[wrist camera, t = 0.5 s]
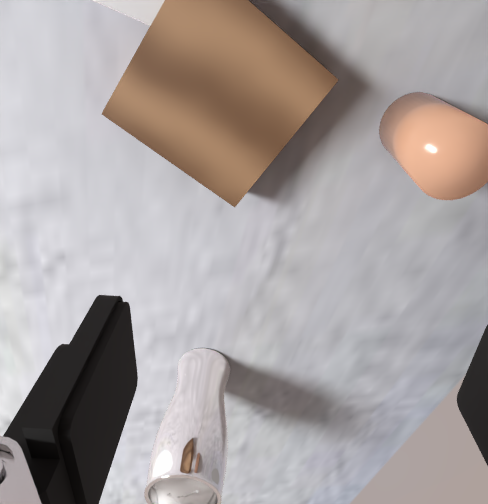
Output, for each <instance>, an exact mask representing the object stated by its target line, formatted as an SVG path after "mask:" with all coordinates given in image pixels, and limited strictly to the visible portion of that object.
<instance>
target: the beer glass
mask: <svg viewBox="0 0 488 504" xmlns="http://www.w3.org/2000/svg"><path fill="white" fill-rule="evenodd" d="M229 375H230V365H229V362H228V360H227V359H226V358H225V357H224V356H223V355H222V354H220V353H219V352H217V351H214V350H211V349H206V348H198V349H193V350H190V351H188V352H186V353H184V354H183V355H182V356H181V358H180V359H179V361H178V366H177V385H176V389H175V393H174V395H173V397H172V400H171V402H170V404H169V406H168V408H167V410H166V412H165V415H164V417H163V419H162V421H161V424H160V427H159V429H158V432H157V435H156V438H155V442H154V445H153V449H152V454H151V459H150V464H149V470H148V477H147V483H146V488H145V492H144V496H145V499H146V501H147V503H148V504H221V497H222V490H223V485H224V479H225V472H226V464H227V453H228V434H227V422H226V413H225V403H224V393H225V387H226V384H227V381H228V378H229Z"/></svg>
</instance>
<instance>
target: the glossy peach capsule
mask: <svg viewBox="0 0 488 504" xmlns="http://www.w3.org/2000/svg"><path fill="white" fill-rule="evenodd" d="M379 134H380V139H381V142H382V144H383V146H384V147H385V149H386V150H387V151H388V152H389V153H390V154H391V155H392V157H393V158H394V159H395V160H396V161H397V162H398V163H399V165H400V166H401V167H402V168H403V169H404V170H405V171H406V173H407V174H408V175H409V176H410V177H411V178H412V179H413V181H414V182H415V183H416V184H417V185H418V186H419V187H420V189H421V190H422V191H423V192H425V193H426V194H427V195H429V196H431V197H433V198H436V199H440V200H455V199H459V198H463V197H466V196H468V195H470V194H472V193H474V192H476V191H477V190H479V189H480V188H481V187H483V186H484V185H485V184H486V183H487V182H488V124H486V123H485V122H483V121H481V120H479V119H477V118H475V117H473V116H471V115H469V114H467V113H465V112H463V111H462V110H460V109H458V108H456V107H454V106H452V105H450V104H448V103H446V102H444V101H442V100H440V99H438V98H436V97H434V96H432V95H430V94H428V93H423V92H415V93H410V94H407V95H404V96H402V97H400V98H398V99H397V100H396V101H394V102H393V103H392V104H391V105H390V106H389V107H388V109H387V110H386V111H385V113H384V115H383V117H382V119H381V123H380V129H379Z"/></svg>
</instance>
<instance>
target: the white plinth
mask: <svg viewBox="0 0 488 504" xmlns="http://www.w3.org/2000/svg"><path fill="white" fill-rule="evenodd" d="M93 1H95V2H97V3H99V4H102V5H104V6H106V7H108V8H111V9H113V10H115V11H117V12H120V13H122V14H124V15H126V16H129V17H131V18H133V19H136V20H138V21H140V22H142V23H145V24H147V25H149V26H151V24H152V22H153V20H154V19H155V17H156V15H157V13H158V12H159V10H160V8H161V6H162V4H163V3H164V1H165V0H93Z"/></svg>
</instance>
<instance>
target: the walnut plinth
mask: <svg viewBox="0 0 488 504" xmlns="http://www.w3.org/2000/svg"><path fill="white" fill-rule="evenodd" d="M337 81H338V79H337V78H336V77H335V76H334V75H333V74H332V73H331V72H330V71H328V70H327V69H326V68H325V67H324V66H323V65H322V64H320V63H319V62H318V61H317V60H316V59H315V58H314V57H312V56H311V55H310V54H309V53H308V52H307V51H306V50H305V49H303V48H302V47H301V46H300V45H299V44H298V43H297V42H295V41H294V40H293V39H292V38H291V37H290V36H289V35H287V34H286V33H285V32H284V31H283V30H282V29H281V28H280V27H278V26H277V25H276V24H275V23H274V22H273V21H272V20H270V19H269V18H268V17H267V16H266V15H265V14H264V13H262V12H261V11H260V10H259V9H258V8H257V7H256V6H255V5H253V4H252V3H251V2H250V1H249V0H165V1H164V3H163V4H162V6H161V8H160V10H159V12H158V13H157V15H156V17H155V19H154V20H153V22H152V24H151V26H150V28H149V29H148V31H147V33H146V35H145V37H144V38H143V40H142V42H141V44H140V46H139V47H138V49H137V51H136V53H135V55H134V56H133V58H132V60H131V62H130V64H129V65H128V67H127V69H126V71H125V73H124V74H123V76H122V78H121V80H120V82H119V83H118V85H117V87H116V89H115V91H114V92H113V94H112V96H111V98H110V99H109V101H108V103H107V105H106V107H105V108H104V110H103V112H102V115H104V116H105V117H106V118H108V119H109V120H111V121H112V122H114V123H115V124H116V125H118V126H119V127H121V128H122V129H124V130H125V131H126V132H128V133H129V134H131V135H132V136H134V137H135V138H136V139H138V140H139V141H141V142H142V143H144V144H145V145H146V146H148V147H149V148H151V149H152V150H154V151H155V152H156V153H158V154H159V155H161V156H162V157H164V158H165V159H166V160H168V161H169V162H171V163H172V164H174V165H175V166H176V167H178V168H179V169H181V170H182V171H184V172H185V173H186V174H188V175H189V176H191V177H192V178H194V179H195V180H196V181H198V182H199V183H201V184H202V185H204V186H205V187H206V188H208V189H209V190H211V191H212V192H214V193H215V194H216V195H218V196H219V197H221V198H222V199H224V200H225V201H226V202H228V203H229V204H231V205H232V206H234V207H235V206H236V205H237V204H238V203H239V201H240V200H241V199H242V198H243V197H244V195H245V194H246V193H247V192H248V190H249V189H250V188H251V187H252V186H253V184H254V183H255V182H256V181H257V179H258V178H259V177H260V176H261V175H262V173H263V172H264V171H265V170H266V168H267V167H268V166H269V165H270V163H271V162H272V161H273V160H274V159H275V157H276V156H277V155H278V154H279V152H280V151H281V150H282V149H283V148H284V146H285V145H286V144H287V143H288V141H289V140H290V139H291V138H292V137H293V135H294V134H295V133H296V132H297V130H298V129H299V128H300V127H301V125H302V124H303V123H304V122H305V121H306V119H307V118H308V117H309V116H310V114H311V113H312V112H313V111H314V110H315V108H316V107H317V106H318V105H319V103H320V102H321V101H322V100H323V99H324V97H325V96H326V95H327V94H328V92H329V91H330V90H331V89H332V87H333V86H334V85H335V84H336V83H337Z"/></svg>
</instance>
